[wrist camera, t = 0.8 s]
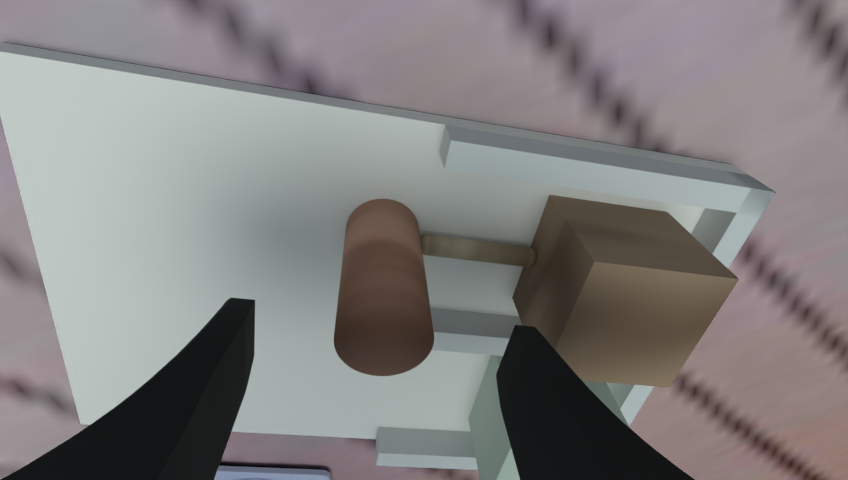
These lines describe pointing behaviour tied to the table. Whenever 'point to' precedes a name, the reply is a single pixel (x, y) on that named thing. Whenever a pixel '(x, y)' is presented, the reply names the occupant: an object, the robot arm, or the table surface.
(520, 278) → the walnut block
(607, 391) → the sage block
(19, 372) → the table surface
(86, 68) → the pale grey tray
